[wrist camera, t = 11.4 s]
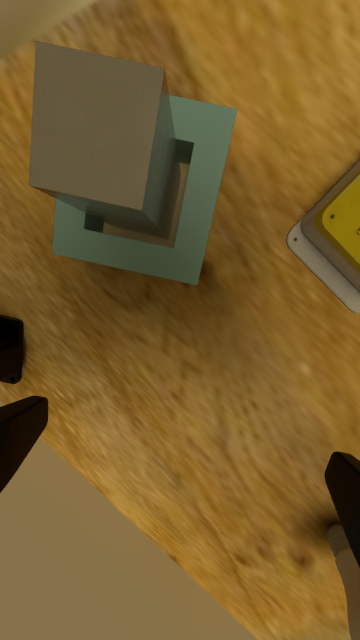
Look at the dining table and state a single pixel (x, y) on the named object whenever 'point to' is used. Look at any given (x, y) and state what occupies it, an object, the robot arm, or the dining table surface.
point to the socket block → (190, 212)
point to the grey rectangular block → (105, 138)
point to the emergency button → (333, 238)
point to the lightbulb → (347, 576)
